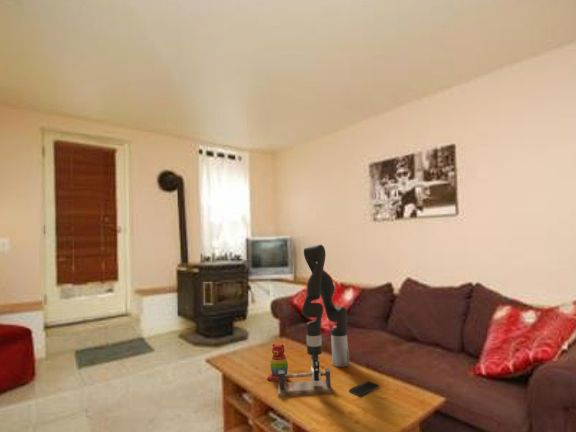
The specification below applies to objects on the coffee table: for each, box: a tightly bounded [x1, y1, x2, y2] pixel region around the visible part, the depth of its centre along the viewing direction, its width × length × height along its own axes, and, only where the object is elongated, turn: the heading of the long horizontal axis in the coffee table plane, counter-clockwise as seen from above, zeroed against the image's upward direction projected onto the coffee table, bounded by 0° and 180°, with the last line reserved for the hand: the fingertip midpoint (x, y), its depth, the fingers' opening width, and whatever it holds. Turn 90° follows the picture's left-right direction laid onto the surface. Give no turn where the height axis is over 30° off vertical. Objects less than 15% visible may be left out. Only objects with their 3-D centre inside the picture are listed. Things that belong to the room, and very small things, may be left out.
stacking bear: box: [266, 343, 289, 382], centre depth 188 cm, size 11×10×18 cm
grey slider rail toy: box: [277, 367, 333, 398], centre depth 173 cm, size 26×12×9 cm, turn 93°
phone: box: [348, 381, 380, 398], centre depth 170 cm, size 8×1×15 cm
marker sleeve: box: [310, 367, 322, 382], centre depth 173 cm, size 4×5×5 cm
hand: (315, 378), depth 173 cm, fingers open, 5 cm apart
